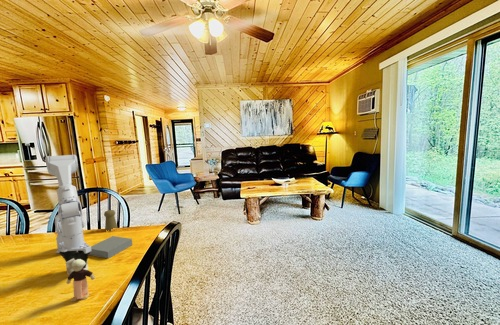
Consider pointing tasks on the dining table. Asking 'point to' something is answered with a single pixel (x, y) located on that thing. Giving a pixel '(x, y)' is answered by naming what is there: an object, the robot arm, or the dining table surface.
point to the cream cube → (70, 268)
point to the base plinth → (110, 246)
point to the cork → (110, 220)
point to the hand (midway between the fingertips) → (77, 267)
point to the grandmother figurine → (79, 280)
